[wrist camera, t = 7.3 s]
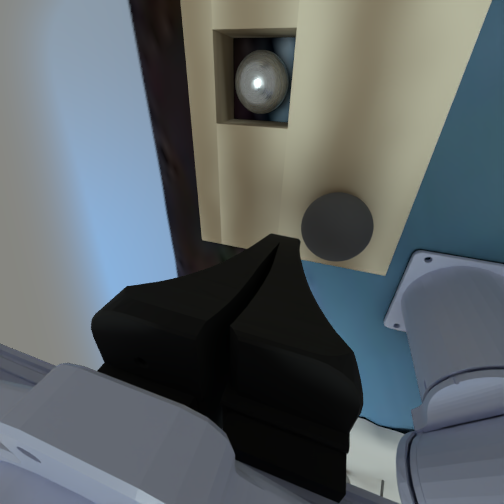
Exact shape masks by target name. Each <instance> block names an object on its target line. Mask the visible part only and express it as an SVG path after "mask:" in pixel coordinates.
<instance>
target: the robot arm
mask: <svg viewBox="0 0 504 504" xmlns="http://www.w3.org/2000/svg"><path fill="white" fill-rule="evenodd" d="M300 243H301V241H300V240H299V239H297V238H292V237H287V236H282V235H277V234H272V233H271V234H269V235H267V236H266V237H264V238H263V239H261V240H260V241H258V242H257V243H256V244H254V245H253V246H251V247H249V248H248V249H246V250H245V251H243V252H241V253H239V254H238V255H236V256H234V257H232V258H230V259H228V260H226V261H224V262H222V263H220V264H217V265H215V266H213V267H210V268H207V269H204V270H201V271H198V272H195V273H192V274H189V275H186V276H182V277H178V278H174V279H169V280H165V281H160V282H153V283H147V284H141V285H133V286H127V287H126V288H124V289H123V290H122V291H121V292H120V293H119V294H117V295H116V296H115V297H114V298H113V299H112V300H111V301H110V302H109V303H107V304H106V305H105V306H104V307H103V308H102V309H101V310H99V311H98V312H97V313H96V314H95V315H94V317H93V318H92V323H91V330H92V333H93V337H94V339H95V341H96V344H97V346H98V349H99V351H100V353H101V355H102V357H103V360H104V362H105V363H104V364H103V365H102V366H101V367H100V368H99V370H98V371H95V370H92V369H90V368H87V367H85V366H80V365H76V364H71V363H63V364H59V365H58V366H55V365H52V364H50V363H47V362H45V361H42V360H40V359H37V358H35V357H32V356H30V355H27V354H25V353H22V352H20V351H17V350H15V349H13V348H10V347H7V346H5V345H3V344H0V504H399V503H397V502H394V501H392V500H389V499H387V498H384V497H382V496H379V495H377V494H374V493H372V492H369V491H367V490H364V489H362V488H359V487H357V486H354V485H352V484H349V483H347V482H346V459H347V454H348V453H349V448H350V431H351V429H352V427H353V426H354V424H355V422H356V420H357V419H358V417H359V415H360V413H361V411H362V407H363V391H362V384H361V379H360V374H359V370H358V366H357V362H356V358H355V355H354V352H353V351H352V350H351V348H350V347H349V346H348V345H347V344H346V343H345V342H344V340H343V339H342V338H341V337H340V336H339V335H338V334H337V332H336V331H335V330H334V329H333V327H332V326H331V324H330V323H329V322H328V320H327V319H326V317H325V315H324V314H323V312H322V311H321V309H320V307H319V306H318V304H317V302H316V300H315V298H314V296H313V294H312V292H311V290H310V288H309V285H308V283H307V280H306V277H305V274H304V270H303V267H302V262H301V257H300ZM426 257H431V258H430V259H429V260H425V258H426ZM395 324H397V325H395ZM384 325H385V326H386V327H388V328H392V329H396V330H400V331H404V332H406V333H407V338H408V342H409V347H410V351H411V356H412V360H413V365H414V369H415V374H416V378H417V383H418V387H419V392H420V396H421V401H422V404H421V405H420V406H419V407H417V408H415V409H412V410H411V413H412V418H413V424H414V429H415V431H411V432H408V433H406V434H405V435H404V436H403V437H402V438H401V439H400V441H399V443H398V447H397V452H396V478H397V486H398V491H399V496H400V500H401V504H504V264H500V263H494V262H488V261H483V260H477V259H471V258H465V257H459V256H453V255H447V254H441V253H435V252H429V251H423V250H418V251H416V252H414V253H413V254H412V257H411V259H410V261H409V263H408V266H407V268H406V270H405V273H404V275H403V277H402V280H401V282H400V284H399V286H398V289H397V291H396V293H395V296H394V298H393V300H392V303H391V305H390V307H389V309H388V312H387V314H386V316H385V319H384ZM222 428H223V430H222Z"/></svg>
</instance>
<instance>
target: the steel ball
mask: <svg viewBox="0 0 504 504" xmlns="http://www.w3.org/2000/svg"><path fill="white" fill-rule="evenodd" d="M288 86H289V77H288V72H287V68H286V66H285V64H284V62H283V61H282V59H281V58H280V57H279V56H278V55H276V54H275V53H273V52H271V51H268V50H257V51H254V52H252V53H250V54H248V55H247V56H246V57H245V58H244V59H243V60H242V62H241V63H240V65H239V67H238V69H237V72H236V77H235V88H236V93H237V95H238V98H239V100H240V102H241V103H242V104H243V106H244V107H245V108H247V109H248V110H250V111H251V112H254V113H258V114H265V113H269V112H271V111H273V110H275V109H276V108H277V107H279V105H280V104H281V103H282V102H283V100H284V99H285V97H286V94H287V91H288Z"/></svg>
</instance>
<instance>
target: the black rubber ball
mask: <svg viewBox="0 0 504 504" xmlns="http://www.w3.org/2000/svg"><path fill="white" fill-rule="evenodd" d="M373 229H374V223H373V217H372V214H371V212H370V210H369V208H368V207H367V205H366V204H365V203H364V202H363V201H362V200H361V199H359V198H358V197H356V196H354V195H351V194H348V193H343V192H334V193H328V194H325V195H323V196H321V197H319V198H317V199H316V200H315V201H313V202H312V203H311V204H310V205H309V207H308V208H307V209H306V211H305V213H304V215H303V218H302V223H301V234H302V238H303V240H304V243H305V244H306V246H307V247H308V249H309V250H310V251H311V252H312V253H313V254H315V255H316V256H318V257H319V258H321V259H324V260H328V261H335V262H338V261H345V260H349V259H351V258H353V257H355V256H357V255H358V254H360V253H361V252H362V251H363V250H364V249H365V248H366V247H367V245H368V244H369V242H370V240H371V238H372V235H373Z"/></svg>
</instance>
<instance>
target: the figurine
mask: <svg viewBox="0 0 504 504" xmlns="http://www.w3.org/2000/svg"><path fill="white" fill-rule="evenodd" d="M404 435H405V434H403V433H400V432H397V431H394V430H390V429H387V428H383V427H380V426H377V425H375V424H373V423H371V422H369V421H367V420H365V419H362V418H358V419H357V420H356V422H355V424H354V426H353V427H352V429H351V431H350V448H349V453H348V454H347V459H346V482H347V483H349V484H352V485H354V486H357V487H359V488H362V489H364V490H367V491H369V492H372V493H374V494H377V495H379V496H382V497H384V498H387V499H389V500H392V501H394V502H397V503H399V504H401V500H400V496H399V491H398V486H397V478H396V452H397V447H398V443H399V441H400V439H401V438H402V437H403V436H404Z"/></svg>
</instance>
